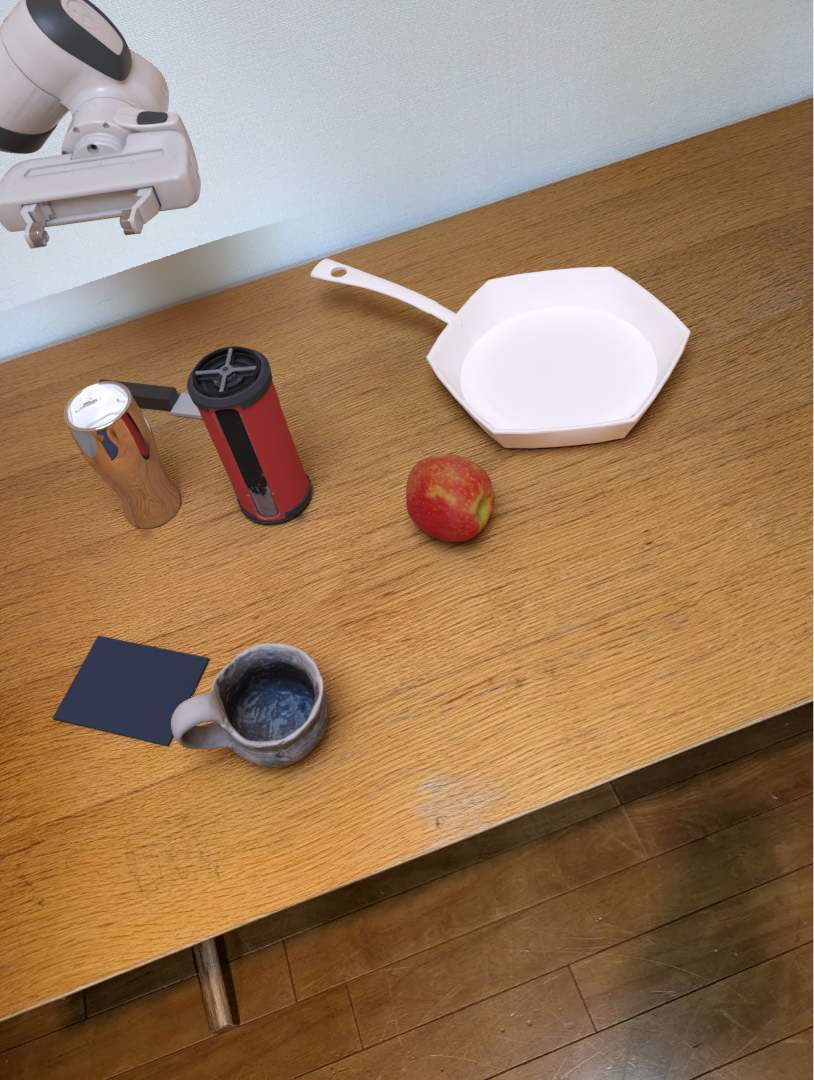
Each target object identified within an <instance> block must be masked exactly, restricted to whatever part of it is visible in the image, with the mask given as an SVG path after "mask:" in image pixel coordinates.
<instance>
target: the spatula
mask: <svg viewBox="0 0 814 1080" xmlns="http://www.w3.org/2000/svg"><path fill="white" fill-rule="evenodd" d="M104 381H114V382H118V383H121V384H123V385H125V386H126V387H127V388H128V389H129V391H130V393H131V395H132V396H133V398H134V399H135V401H136V402H137V404H138V405H139V407H140V409H148V410H156V411H163V412H164V411H166V412H170V413H169V414H170V415H171V416H173V417H182V418H189V419H197V420H203V419H202V417H201V415H200V412H199V410H198V408H197V406H196V405H195V404H194V403H193V402H192V399H191V397H190V395H189V393H188V392H181V393H180V395H179V392H178V391H177V388H176V387H173V386H165V385H157V384H149V383H148V384H147V383H139V382H138V383H137V382H130V381H120V380H112V379H102V378H101V379H99V381H98V382H104Z"/></svg>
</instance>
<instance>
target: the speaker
mask: <svg viewBox="0 0 814 1080" xmlns="http://www.w3.org/2000/svg"><path fill="white" fill-rule="evenodd" d="M271 368H272V367H271V364H270V361H269V360H268V358H267V357H266V356H265V355H264V354H263V353H261V352H260V351H258V350H256V349H252V348H250V347H244V346H237V345H236V346H235V345H231V346H225V347H221V348H218V349H216V350H215V349H214V350H213V351H211V352H209V353H208V354H206V355H205V356H203V357H202V358H201V359H200V360H199V361H198V362H197V364H195V367H193V369H192V370H191V372H190V374H189V375H188V378H187V382H186V390H187V393H189V395H190V397H191V399H192V402H193V403H194V404H195V405H196V406H197V408H198V410H199V412H200V415H201V417H202V419H201V420H202V421H203V424H204V426H205V428H206V431H207V432H208V435H209V437H210V439H211V441H212V444H213V446H214V448H215V450H216V452H217V455H218V457H219V459H220V462H221V464H222V466H223V468H224V471H225V473H226V475H227V477H228V479H229V481H230V484H231V486H232V488H233V491H234V493H235V495H236V501H237V504H238V506H239V509H240V511H241V512H242V514H243V515H244V516H245V517H246V518H247V519H248V520H250V521H252V522H254V523H257V524H260V525H261V524H263V525H274V524H280V523H283V522H286V521H288V520H291V519H292V518H294V517H296V516H297V515H298V514H299V513H301V512H302V511H304V509H305V508H306V506H308V504H309V502H310V500H311V497H312V495H313V494H312V493H313V486H312V485H313V484H312V481H311V478H310V477H309V476H308V474H307V473H306V472H305V468H304V465H303V463H302V461H301V460H300V457H299V454H298V451H297V448H296V445H295V442H294V439H293V437H292V434H291V431H290V428H289V425H288V423H287V419H286V416H285V414H284V412H283V409H282V405H281V403H280V402H281V401H280V398H279V395H278V392H277V389H276V386H275V383H274V381H273V378H274V377H273V374H272V369H271Z"/></svg>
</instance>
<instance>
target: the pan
mask: <svg viewBox="0 0 814 1080" xmlns="http://www.w3.org/2000/svg"><path fill="white" fill-rule="evenodd" d="M337 271H345V272H346V273H345V274H344V275H341V276H333V275H332V274H333V273H334V272H337ZM310 278H311V279H312V278H313V279H316V280H322V281H327V282H331V283H336V284H339V285H340V284H341V285H346V286H351V287H355V288H362V289H366V290H370V291H373V292H376V293H380V294H382V295H385V296H388V297H391V298H394V299H396V300H399V301H401V302H403V303H406V304H408V305H410V306H412V307H414V308H416V309H418V310H420V311H422V312H424V313H426V314H428V315H432V316H433V317H435V318H437V319H438V320H441V321H442V322H444V323H446V324H447V325H446V326H445V328H444V329H443V330H442V332H441V333H440V334H439V335H438V336H437V338H436V340H435V342H434V343H433V345H432V346H431V348H430V350H429V352H428V354H427V355H426V357H425V359H426V361H427V362H428V364H429V365H430V367H431V369H432V370H433V372H434V374H435V375H436V377H437V379H438V380H439V382H441V383H442V385H443V386H444V387H445V388H446V389H447V391H448V392H449V393H450V394H451V395H452V397H453V398H454V399H455V400H456V401H457V403H458V404H459V405H460V406H462V408H463V409H464V410H465V412H467V414H468V415H469V416H470V417H471V418H472V419H473V420H474V421H475V423H476V424H478V426H479V427H480V428H481V429H482V430H483V431H484V432H485V433H486V434H488V436H490V437H491V438H492V439H493V440H494V441H495V442H497V443H498V444H499V445H500V446H501V447H503V448H504V449H543V448H544V449H545V448H557V447H560V448H561V447H572V446H581V445H590V444H598V443H603V442H608V441H615V440H619V439H625V438H626V436H627V435H628V434H629V433H630V431H632V429H633V428H634V427H635V426H636V424H638V423H639V421H640V420H641V419H642V418H643V416H644V415H645V413H646V412H647V410H648V409H649V408H650V406H651V405H652V403H653V402H654V401H655V399H656V398H657V396H658V395H659V394H660V392H661V390H662V388H663V387H664V385H665V384H666V383H667V382H668V380H669V378H670V376H671V375H672V373H673V371H674V369H675V368H676V366H677V364H678V363H679V361H680V359H681V357H682V356H683V354H684V350H685V349H686V346H687V343H688V341H689V338H690V335H691V330H690V329H689V328H688V327H687V326H686V325H685V323H683V322H682V320H681V319H680V318H679V317H678V316H677V315H676V314H675V312H673V311H672V310H671V309H669V307H667V306H666V305H665V304H664V303H663V302H662V301H661V300H659V299H658V298H657V297H656V296H654V295H653V294H652V293H651V292H649V291H648V289H645V288H644V287H643V286H641V284H639V283H637V282H636V281H635V280H634V279H632V278H631V277H629V276H627V275H626V274H624V273H623V272H621V271H619V270H618V269H616V268H615V267H613V266H587V267H586V266H583V267H582V266H580V267H571V268H570V267H569V268H559V269H548V270H542V271H533V272H525V273H517V274H512V275H506V276H502V277H496V278H492V279H488V280H486V281H485V282H484V283H483V284H482V285H481V286H480V287H479V288H478V289H477V290H476V291H475V292H474V293H473V294H471V296H470V297H469V298H468V299H467V301H466V302H465V303H464V304H463V305H462V306H461V308H459V310H458V311H456V312H454V311H453V310H451V309H449V308H447V307H445V306H444V305H441V304H439V302H437V301H436V300H434V299H432V298H430V297H428V296H425V295H424V294H422V293H419V292H417V291H414V290H412V289H410V288H409V287H408V288H407V287H406V286H402V285H400V284H398V283H395V282H392V281H390V280H388V279H385V278H383V277H379V276H376V275H374V274H371V273H368V272H366V271H363V270H361V269H358V268H355V267H352V266H350V265H347V264H344V263H340V262H338V261H335V260H334V259H330V258H324V259H322V260H320V261H319V262H318V263H317V264H316V265H315V266H314V267H313V269H312V270H311V271H310Z"/></svg>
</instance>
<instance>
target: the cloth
mask: <svg viewBox="0 0 814 1080" xmlns="http://www.w3.org/2000/svg"><path fill="white" fill-rule="evenodd" d="M209 662H210V658H209V657H208V656H207V657H206V656H203V655H196V654H193V653H192V654H191V653H187V652H182V651H178V650H177V651H176V650H171V649H167V648H162V647H157V646H152V645H146V644H142V643H137V642H136V643H135V642H132V641H127V640H122V639H116V638H113V637H107V636H102V635H97V637H96V639H95V640H94V642H93V644H92V646H91V648H90V650H89V651H88V653H87V654H86V657H85V659H84V660H83V662H82V663H81V666H80V668H79V669H78V671H77V673H76V675H75V677H74V679H73V680H72V682H71V684H70V686H69V687H68V689H67V691H66V693H65V695H64V696H63V698H62V700H61V702H60V704H59V705H58V707H57V709H56V710H55V712H54V715H53V717H52V720H53V721H58V722H62V723H66V724H71V725H75V726H79V727H83V726H84V727H83V728H88V729H90V730H91V729H92V728H93V729H92V730H96V729H97V730H96V731H100V730H101V731H100V732H104V733H108V734H113V735H117V736H121V737H126V738H130V739H134V740H139V741H143V742H147V743H152V744H155V745H160V746H164V747H169V746H170V744H171V743H172V740H173V738H174V736H173V733H172V729H171V719H172V715H173V713H174V711H175V710H176V708H177V707H178V706H179V705H180V704H181V703H182V702H184V701H186V700H188V699H190V698H192V697H194V694H195V691H196V689H197V687H198V685H199V684H200V681H201V679H202V677H203V674H204V673H205V671H206V669H207V666H208V664H209ZM195 688H196V689H195ZM193 692H194V693H193ZM192 694H193V695H192ZM191 696H192V697H191ZM109 732H110V733H109Z"/></svg>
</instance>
